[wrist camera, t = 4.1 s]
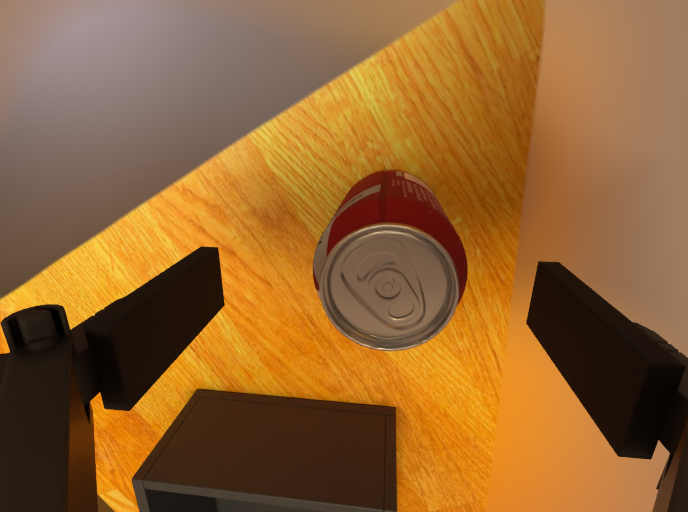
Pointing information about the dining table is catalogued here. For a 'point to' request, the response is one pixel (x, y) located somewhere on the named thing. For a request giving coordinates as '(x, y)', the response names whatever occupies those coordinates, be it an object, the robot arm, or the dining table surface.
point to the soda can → (390, 264)
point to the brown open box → (271, 457)
